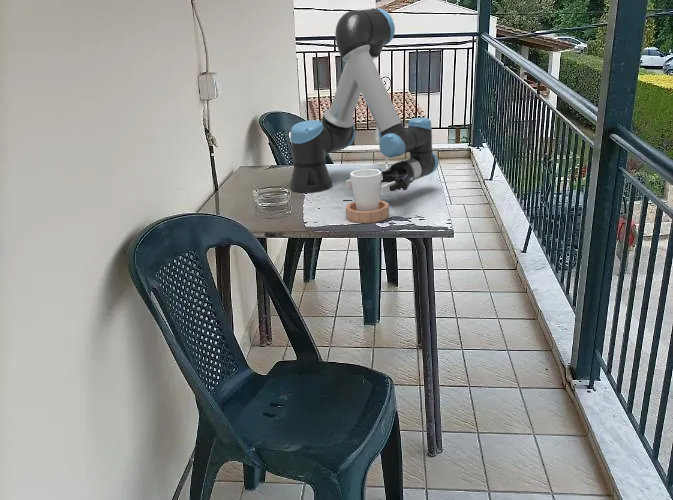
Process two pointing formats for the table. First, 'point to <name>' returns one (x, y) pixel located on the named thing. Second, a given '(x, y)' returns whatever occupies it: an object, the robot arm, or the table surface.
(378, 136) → the wineglass
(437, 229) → the table surface
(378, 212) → the bowl
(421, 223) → the table surface
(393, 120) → the robot arm
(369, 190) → the foam cup
